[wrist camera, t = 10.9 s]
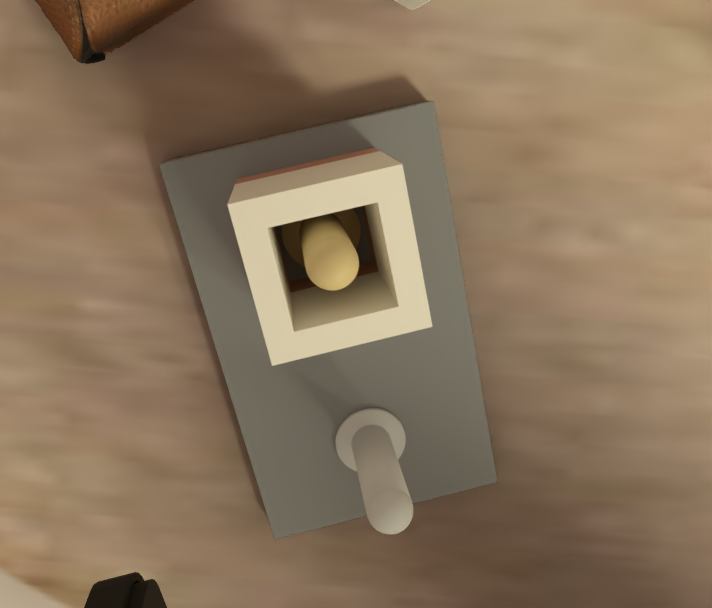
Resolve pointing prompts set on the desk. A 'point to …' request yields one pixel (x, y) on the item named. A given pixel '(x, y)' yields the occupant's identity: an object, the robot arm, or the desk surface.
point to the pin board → (349, 365)
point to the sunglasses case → (104, 22)
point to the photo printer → (411, 3)
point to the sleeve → (374, 280)
